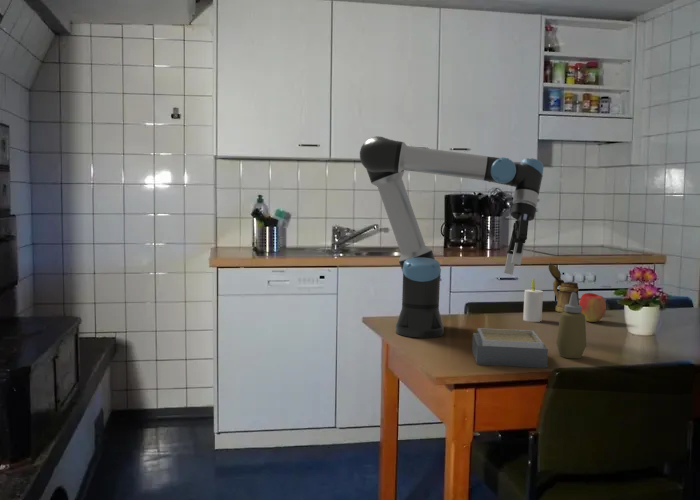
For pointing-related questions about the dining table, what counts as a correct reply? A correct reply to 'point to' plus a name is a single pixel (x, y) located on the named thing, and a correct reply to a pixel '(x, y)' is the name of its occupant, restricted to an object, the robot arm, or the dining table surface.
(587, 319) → the apple
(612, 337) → the dining table surface
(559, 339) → the squeeze bottle
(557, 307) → the wooden mug
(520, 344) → the square box
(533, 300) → the candle
